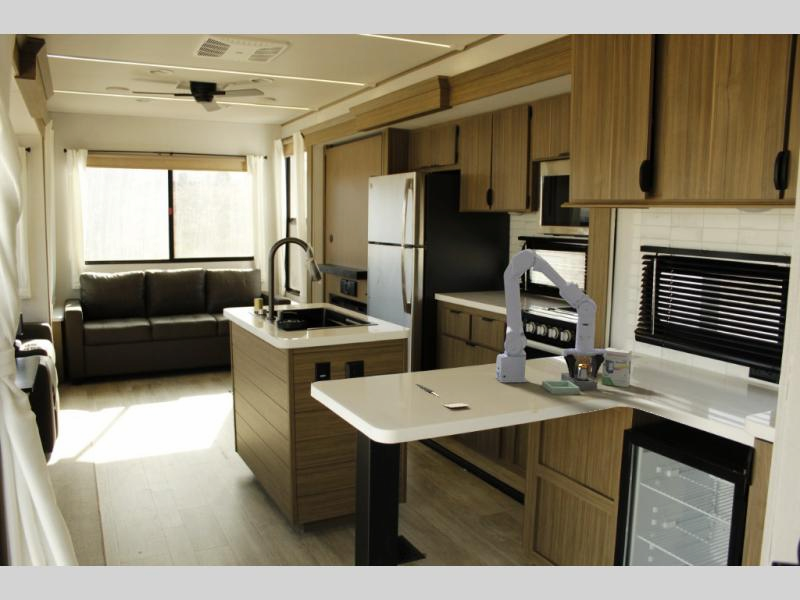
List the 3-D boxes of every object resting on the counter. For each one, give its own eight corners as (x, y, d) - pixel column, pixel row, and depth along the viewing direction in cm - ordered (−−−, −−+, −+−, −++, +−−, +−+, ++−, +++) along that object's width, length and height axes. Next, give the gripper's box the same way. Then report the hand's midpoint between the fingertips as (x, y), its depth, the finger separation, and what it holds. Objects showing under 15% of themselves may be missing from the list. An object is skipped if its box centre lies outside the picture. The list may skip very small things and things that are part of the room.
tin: (576, 378, 235) (577, 354, 234) (567, 377, 237) (568, 353, 236) (592, 371, 247) (594, 348, 246) (584, 369, 249) (585, 347, 248)
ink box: (630, 384, 229) (632, 350, 227) (627, 387, 224) (629, 352, 223) (603, 381, 233) (606, 347, 231) (600, 384, 228) (603, 349, 227)
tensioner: (576, 389, 220) (577, 369, 219) (561, 379, 232) (562, 360, 232) (596, 389, 221) (598, 369, 220) (580, 379, 233) (581, 360, 233)
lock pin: (579, 388, 222) (580, 365, 221) (575, 385, 225) (577, 363, 224) (588, 388, 222) (589, 365, 221) (584, 385, 225) (585, 363, 224)
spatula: (451, 412, 193) (451, 407, 193) (408, 386, 220) (408, 382, 220) (470, 410, 196) (470, 405, 195) (425, 385, 222) (425, 380, 222)
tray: (551, 394, 213) (552, 388, 213) (541, 386, 222) (542, 380, 222) (579, 394, 215) (579, 387, 214) (568, 386, 223) (568, 380, 223)
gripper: (568, 338, 216) (566, 380, 218) (611, 338, 218) (609, 380, 220) (560, 334, 223) (558, 375, 225) (602, 334, 225) (599, 374, 227)
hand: (582, 377), depth 223 cm, fingers open, 7 cm apart
